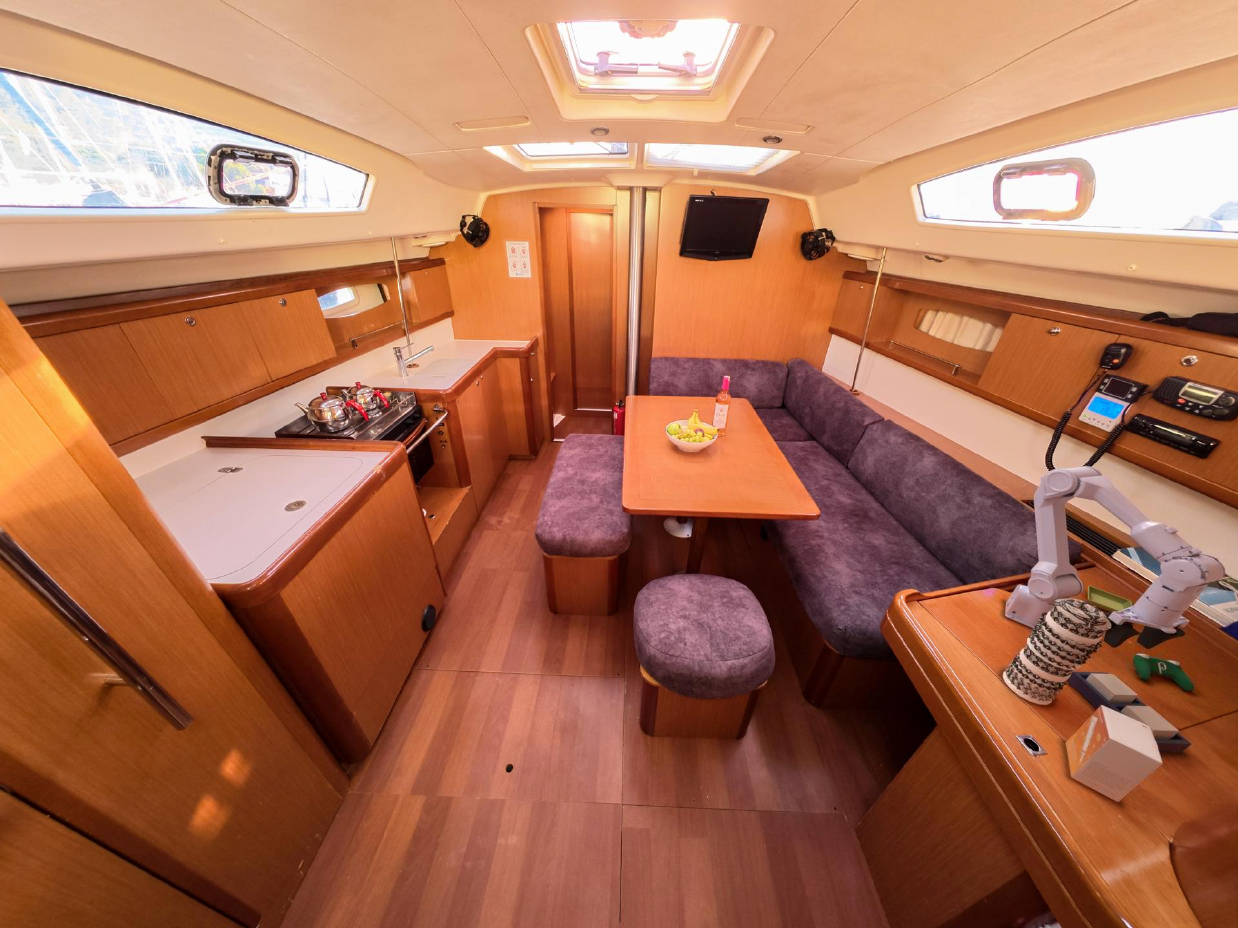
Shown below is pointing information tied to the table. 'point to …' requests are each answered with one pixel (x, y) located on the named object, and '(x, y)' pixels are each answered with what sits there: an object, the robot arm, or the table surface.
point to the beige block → (1151, 721)
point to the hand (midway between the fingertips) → (1126, 644)
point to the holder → (1096, 699)
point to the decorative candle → (1056, 650)
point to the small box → (1112, 753)
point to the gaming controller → (1161, 670)
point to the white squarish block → (1111, 688)
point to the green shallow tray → (1107, 600)
